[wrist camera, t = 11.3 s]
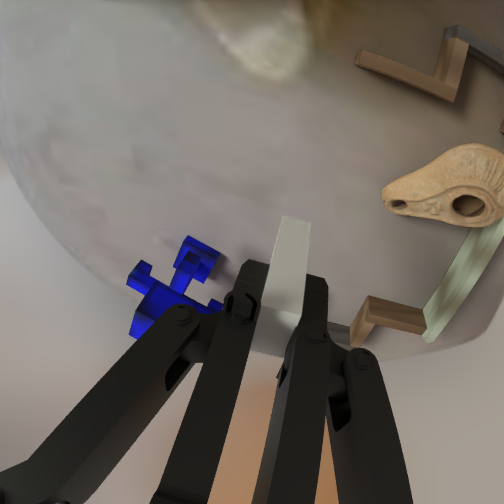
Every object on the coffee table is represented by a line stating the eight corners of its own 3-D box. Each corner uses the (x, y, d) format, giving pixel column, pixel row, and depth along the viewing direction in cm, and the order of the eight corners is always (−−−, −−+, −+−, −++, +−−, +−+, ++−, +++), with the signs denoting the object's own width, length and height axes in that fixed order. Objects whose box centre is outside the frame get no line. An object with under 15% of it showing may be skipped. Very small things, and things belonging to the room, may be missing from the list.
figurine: (239, 278, 36) (207, 363, 26) (183, 286, 38) (141, 361, 28) (215, 220, 32) (166, 297, 22) (156, 233, 35) (99, 304, 25)
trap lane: (370, -3, 17) (378, -14, 14) (534, 85, 16) (558, 91, 13) (276, 315, 37) (271, 340, 34) (404, 346, 36) (408, 370, 33)
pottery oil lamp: (366, 147, 25) (380, 173, 19) (482, 120, 20) (522, 139, 14) (388, 232, 29) (402, 276, 23) (492, 205, 24) (525, 241, 18)
